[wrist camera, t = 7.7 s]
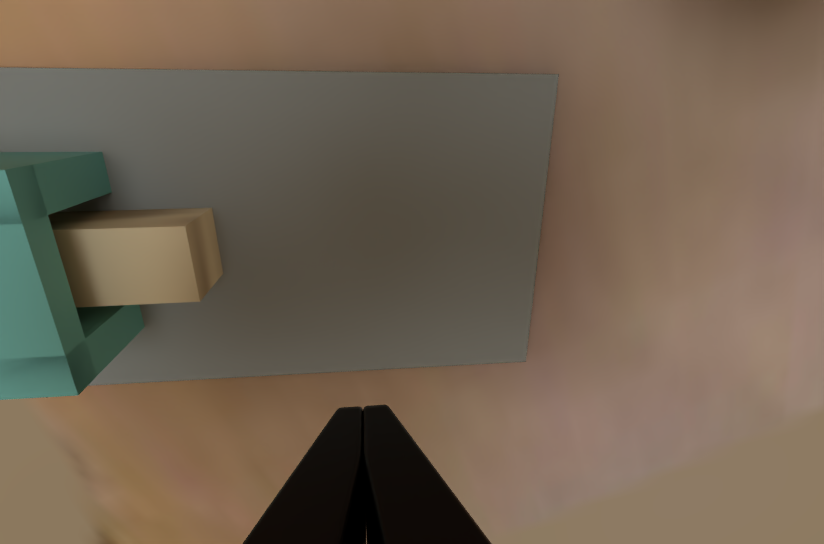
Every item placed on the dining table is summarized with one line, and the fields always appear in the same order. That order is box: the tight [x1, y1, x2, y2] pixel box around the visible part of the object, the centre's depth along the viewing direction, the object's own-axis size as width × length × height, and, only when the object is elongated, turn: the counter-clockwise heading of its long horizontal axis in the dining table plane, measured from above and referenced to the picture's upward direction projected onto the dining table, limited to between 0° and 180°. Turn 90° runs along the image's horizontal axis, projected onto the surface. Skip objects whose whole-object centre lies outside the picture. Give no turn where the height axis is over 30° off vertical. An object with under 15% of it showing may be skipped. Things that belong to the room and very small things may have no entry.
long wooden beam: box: [48, 208, 223, 307], centre depth 15 cm, size 9×3×3 cm, turn 90°
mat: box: [0, 67, 559, 386], centre depth 17 cm, size 20×12×1 cm, turn 90°
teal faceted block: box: [0, 152, 145, 400], centre depth 14 cm, size 4×7×4 cm, turn 0°
